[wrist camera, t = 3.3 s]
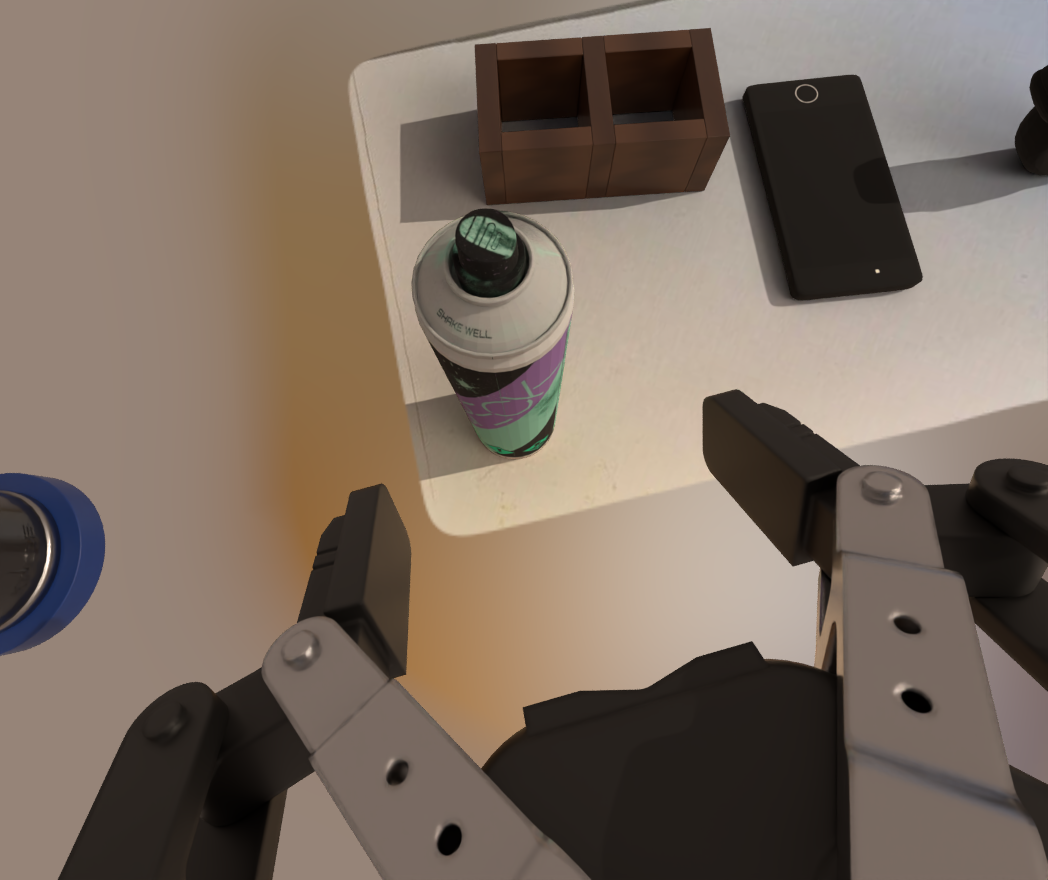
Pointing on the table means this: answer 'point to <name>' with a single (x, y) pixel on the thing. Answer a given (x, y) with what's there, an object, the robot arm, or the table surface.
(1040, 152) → the controller
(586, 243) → the table surface
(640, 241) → the table surface
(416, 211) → the table surface
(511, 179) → the rack
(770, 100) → the cell phone
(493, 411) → the spray can
